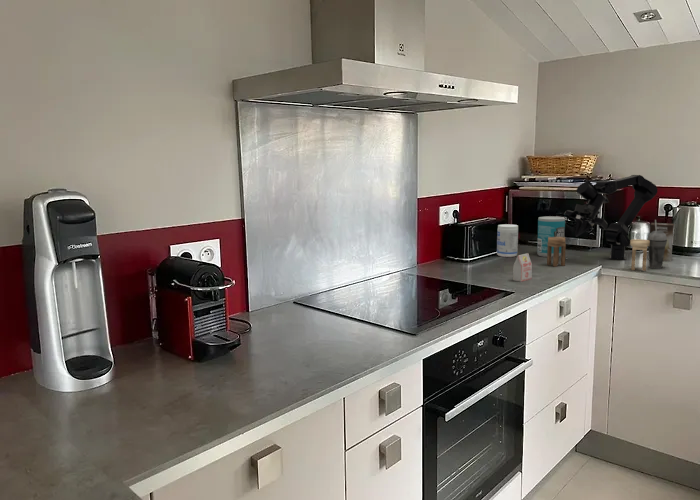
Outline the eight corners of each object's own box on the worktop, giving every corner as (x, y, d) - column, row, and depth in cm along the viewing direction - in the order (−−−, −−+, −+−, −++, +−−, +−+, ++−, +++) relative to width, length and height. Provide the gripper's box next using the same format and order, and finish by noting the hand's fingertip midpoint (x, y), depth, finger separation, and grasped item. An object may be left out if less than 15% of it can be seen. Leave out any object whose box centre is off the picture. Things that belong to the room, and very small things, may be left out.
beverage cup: (669, 269, 229) (672, 220, 226) (651, 269, 230) (654, 220, 226) (659, 265, 237) (662, 218, 233) (642, 266, 237) (645, 219, 233)
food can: (565, 257, 261) (566, 219, 258) (538, 257, 264) (539, 219, 261) (562, 253, 272) (563, 216, 269) (536, 252, 275) (537, 216, 272)
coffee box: (647, 259, 250) (649, 224, 247) (648, 257, 255) (650, 222, 252) (671, 261, 245) (673, 224, 242) (671, 259, 250) (674, 223, 247)
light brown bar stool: (628, 267, 235) (630, 238, 233) (647, 268, 232) (649, 239, 230) (629, 270, 229) (630, 241, 227) (648, 271, 226) (650, 242, 224)
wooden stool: (557, 263, 248) (557, 236, 246) (568, 265, 241) (569, 238, 240) (543, 264, 246) (544, 237, 244) (554, 267, 239) (555, 239, 237)
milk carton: (513, 280, 218) (513, 254, 216) (523, 277, 222) (523, 252, 220) (521, 281, 215) (521, 256, 213) (531, 278, 219) (532, 253, 217)
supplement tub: (492, 255, 271) (493, 225, 269) (505, 253, 277) (505, 223, 274) (509, 258, 263) (509, 227, 261) (521, 255, 269) (522, 225, 267)
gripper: (567, 192, 248) (550, 222, 247) (605, 200, 233) (587, 232, 232) (577, 205, 254) (560, 234, 253) (615, 214, 240) (597, 245, 239)
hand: (575, 236), depth 244 cm, fingers closed
